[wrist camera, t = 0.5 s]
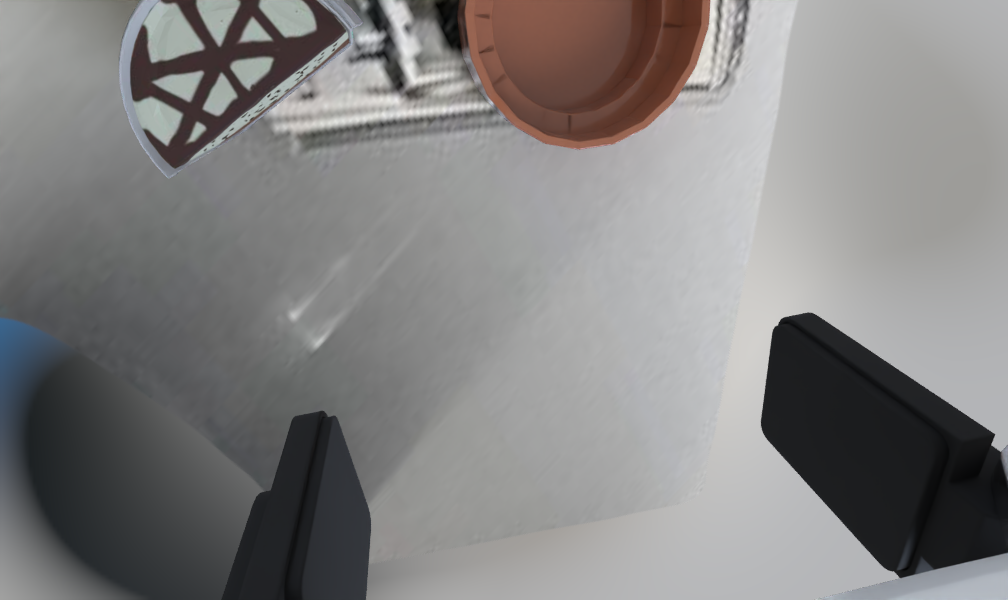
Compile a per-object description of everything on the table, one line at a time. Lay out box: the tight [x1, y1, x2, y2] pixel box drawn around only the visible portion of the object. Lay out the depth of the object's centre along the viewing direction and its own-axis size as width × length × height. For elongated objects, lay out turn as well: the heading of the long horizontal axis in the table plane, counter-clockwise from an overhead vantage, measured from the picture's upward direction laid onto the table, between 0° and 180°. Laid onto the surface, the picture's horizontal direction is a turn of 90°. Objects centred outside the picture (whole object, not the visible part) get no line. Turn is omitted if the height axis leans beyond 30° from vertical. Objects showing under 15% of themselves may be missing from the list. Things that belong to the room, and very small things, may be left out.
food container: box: [119, 0, 363, 178], centre depth 27 cm, size 12×6×10 cm, turn 124°
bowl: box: [457, 0, 710, 150], centre depth 32 cm, size 14×14×6 cm
